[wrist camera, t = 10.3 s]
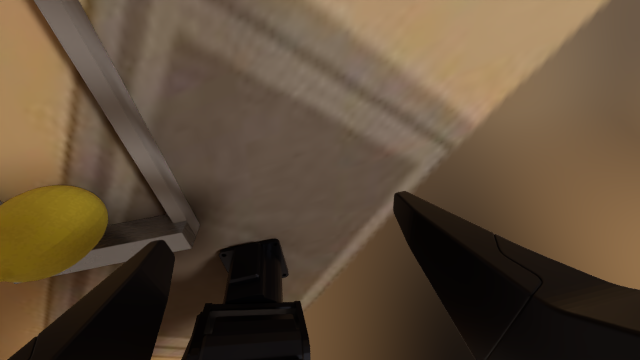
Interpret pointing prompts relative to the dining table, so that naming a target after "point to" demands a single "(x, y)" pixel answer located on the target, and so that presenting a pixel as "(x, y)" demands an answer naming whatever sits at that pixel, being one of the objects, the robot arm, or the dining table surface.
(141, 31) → the dining table surface
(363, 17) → the dining table surface
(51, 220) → the lemon
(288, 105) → the dining table surface
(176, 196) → the channel
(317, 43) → the dining table surface
